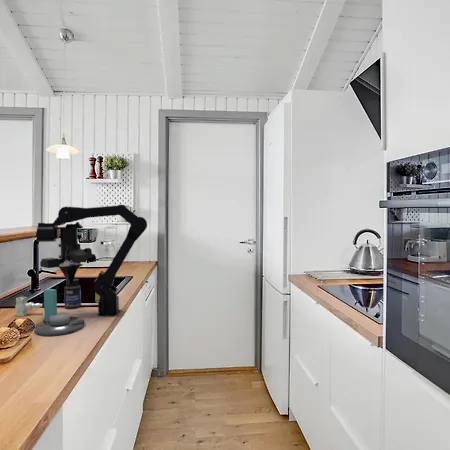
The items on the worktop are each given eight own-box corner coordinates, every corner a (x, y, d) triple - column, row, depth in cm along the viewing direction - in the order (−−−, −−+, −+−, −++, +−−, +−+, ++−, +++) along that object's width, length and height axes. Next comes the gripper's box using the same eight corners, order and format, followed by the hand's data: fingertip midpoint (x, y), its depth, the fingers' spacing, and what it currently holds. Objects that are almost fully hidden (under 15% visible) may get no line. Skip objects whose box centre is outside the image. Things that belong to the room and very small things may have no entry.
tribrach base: (94, 323, 123) (94, 310, 122) (60, 338, 109) (59, 323, 108) (60, 319, 128) (59, 306, 128) (23, 333, 114) (22, 319, 114)
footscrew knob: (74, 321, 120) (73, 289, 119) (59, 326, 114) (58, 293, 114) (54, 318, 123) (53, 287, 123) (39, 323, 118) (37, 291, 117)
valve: (12, 318, 130) (47, 316, 132) (11, 300, 130) (47, 298, 132) (19, 313, 137) (53, 311, 139) (18, 296, 136) (52, 294, 138)
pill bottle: (65, 309, 140) (64, 281, 140) (64, 306, 146) (63, 279, 145) (82, 307, 143) (81, 280, 142) (80, 304, 148) (79, 277, 148)
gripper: (56, 244, 118) (57, 291, 118) (104, 240, 133) (105, 282, 134) (38, 242, 124) (40, 287, 125) (87, 239, 139) (88, 278, 140)
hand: (70, 283), depth 131 cm, fingers closed
